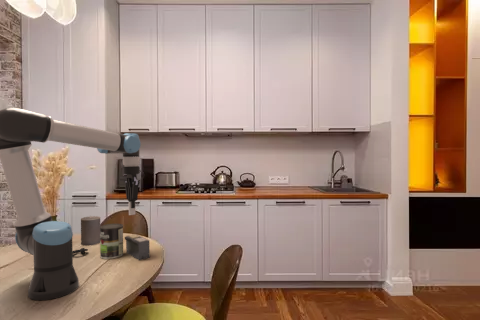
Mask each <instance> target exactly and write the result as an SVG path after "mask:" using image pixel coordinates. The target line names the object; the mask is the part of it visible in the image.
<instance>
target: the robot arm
mask: <svg viewBox="0 0 480 320" xmlns="http://www.w3.org/2000/svg"><path fill="white" fill-rule="evenodd" d="M48 141H49V142H56V143H61V144H66V145H67V144H68V145H74V146H82V147H86V148H93V149H96V150H97V151H98V153H100V154H105V155H107V154H110V155H111V154H112V155H113V154H122V170H123V171H122V173H123V174H124V175H126V177H125V178H126V179H124V180H123V181H124V187H125V197H126V200H127V202H128V216H134V215H136V201H137V200H138V197H139V185H140V180H138V177H137V175H139V174H140V173H141V171H140V169H141V168H140V161H141V159H140V149H141V145H142V144H141V143H142V142H141V140H140V137H139V134H138V133H124V134H123V133H117V132H114V131H107V130H103V129H98V128H94V127H88V126H84V125H81V124H80V125H79V124H76V123H72V122H70V123H69V122H67V121H62V120H61V121H60V120H57V119H53V118H52V116H50V115H48V114H44V113H39V112H35V111H31V110H27V109H24V108H19V107H5V108H3V109H0V163H1V166H2V171H3V173H4V176H5V180H6V183H7V186H8V190H9V192H10V193H9V194H10V197H11V199H12V200H11V201H12V204H13V207H14V211H15V213H16V216H17V220H15V223H13V225H14V228H15V235H14V236H15V238H14V239H15V243H16V245H17V246H18V248H19V249H20V250H21V251H23V252H25V253H28V254H30V255H32V256H33V275H32V277H31V280H30V282H29V283H30V284H29V286H28V290H27V291H28V292H27V295H28V298H29V299H31V300H34V301H46V300H53V299H57V298H61V297H64V296H66V295H69V294H71V293H73V292H74V291H76V290H78V288H79V287H80V284H79V283H80V280H79V277H78V275H77V271H76V269H75V268H74V264H73V263H74V262H73V259H74V258H73V255H74V254H73V251H74V250H73V235H74V234H73V229H72V226H71V224H70V222H67V221H61V220H60V221H59V220H53V217H52V214H51V213H50V212H49V211H46V210H45V206H44V203H43V199H42V195H41V192H40V191H41V190H40V189H39V185H38V181H37V177H36V175H35V170H34V167H33V163H32V160H31V156H30V153H29V150H30V148H31V147H32V142H35V143H43V144H45V143H46V142H48Z"/></svg>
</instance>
